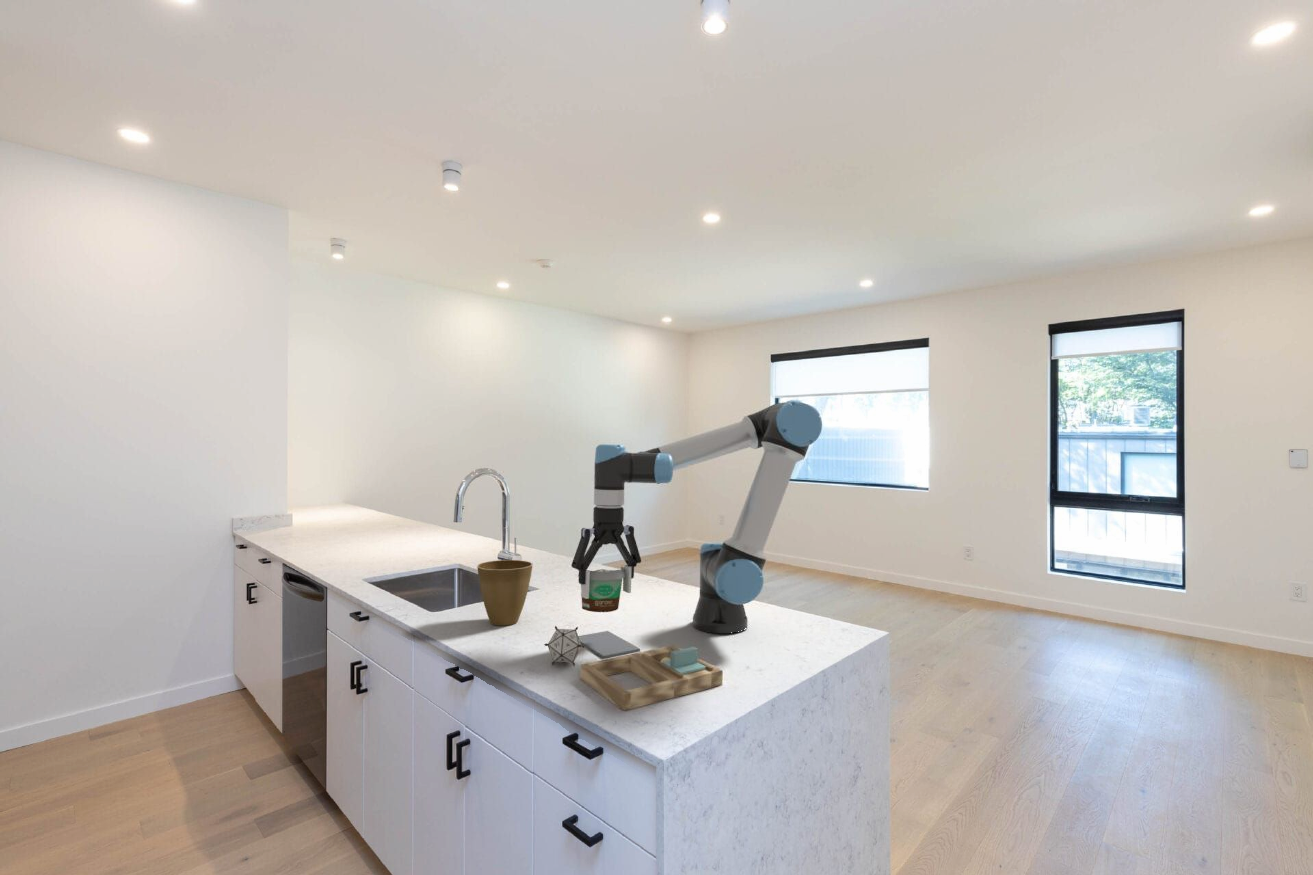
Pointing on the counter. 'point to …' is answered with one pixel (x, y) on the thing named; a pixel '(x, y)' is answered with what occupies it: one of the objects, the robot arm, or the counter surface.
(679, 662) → the cover
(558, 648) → the game die
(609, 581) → the food container
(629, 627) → the counter surface
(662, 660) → the ball
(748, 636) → the counter surface
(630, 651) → the mat
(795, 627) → the counter surface
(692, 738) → the counter surface
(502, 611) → the plant pot
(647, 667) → the wooden compartment tray
